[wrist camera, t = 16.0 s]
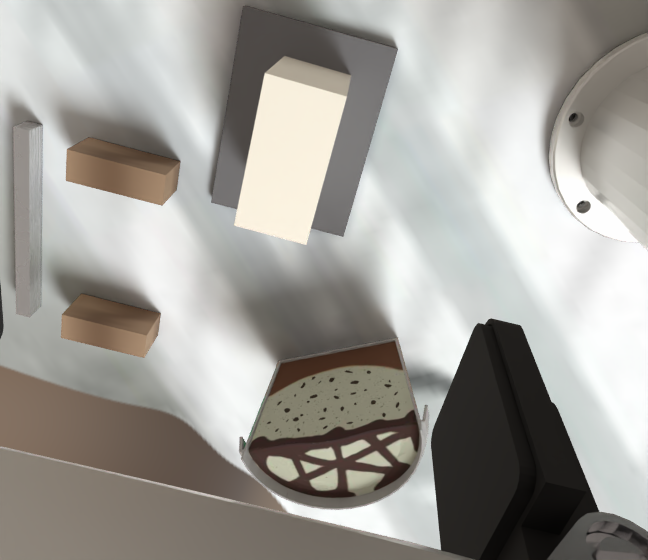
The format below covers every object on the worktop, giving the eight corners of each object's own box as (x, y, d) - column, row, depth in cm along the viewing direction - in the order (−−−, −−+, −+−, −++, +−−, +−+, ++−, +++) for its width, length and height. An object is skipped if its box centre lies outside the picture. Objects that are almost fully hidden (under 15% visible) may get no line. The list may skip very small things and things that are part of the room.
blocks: (180, 161, 37) (165, 175, 34) (158, 334, 43) (144, 357, 40) (27, 121, 36) (-1, 131, 33) (27, 302, 43) (5, 324, 40)
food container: (284, 423, 46) (264, 527, 38) (260, 364, 44) (233, 460, 35) (433, 397, 44) (449, 501, 35) (417, 333, 41) (430, 428, 33)
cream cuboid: (351, 75, 33) (347, 96, 27) (316, 200, 37) (306, 245, 30) (284, 55, 33) (264, 73, 26) (256, 184, 36) (234, 225, 30)
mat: (397, 48, 32) (397, 49, 32) (343, 233, 38) (343, 236, 38) (245, 5, 32) (243, 6, 32) (213, 199, 38) (211, 202, 37)
